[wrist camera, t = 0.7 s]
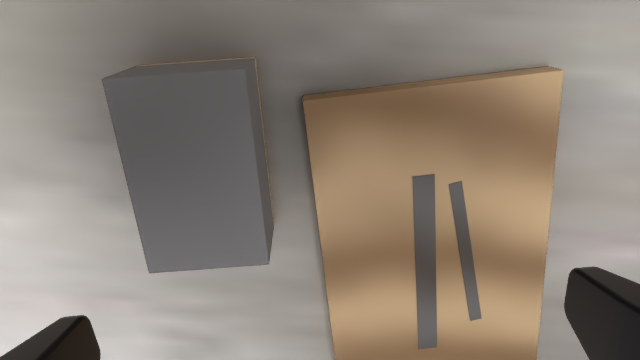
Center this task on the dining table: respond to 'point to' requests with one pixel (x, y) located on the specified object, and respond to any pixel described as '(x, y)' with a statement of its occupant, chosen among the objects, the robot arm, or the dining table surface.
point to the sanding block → (195, 162)
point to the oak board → (436, 213)
